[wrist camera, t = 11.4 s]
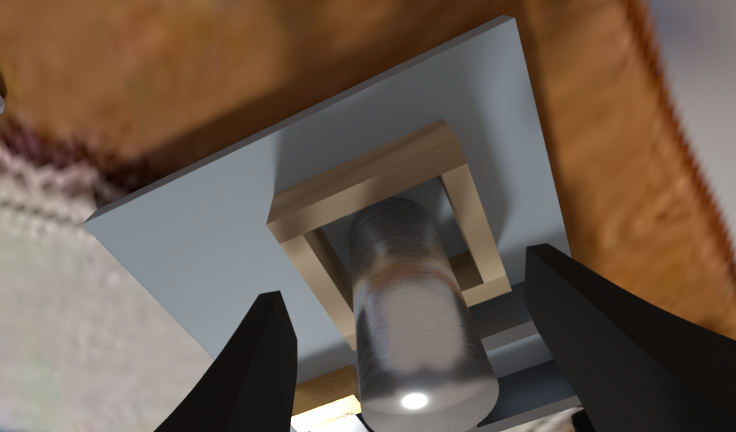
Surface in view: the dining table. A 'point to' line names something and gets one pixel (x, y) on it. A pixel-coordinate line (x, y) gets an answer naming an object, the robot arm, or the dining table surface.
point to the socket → (528, 386)
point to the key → (329, 403)
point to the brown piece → (370, 185)
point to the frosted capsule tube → (413, 327)
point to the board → (320, 153)
